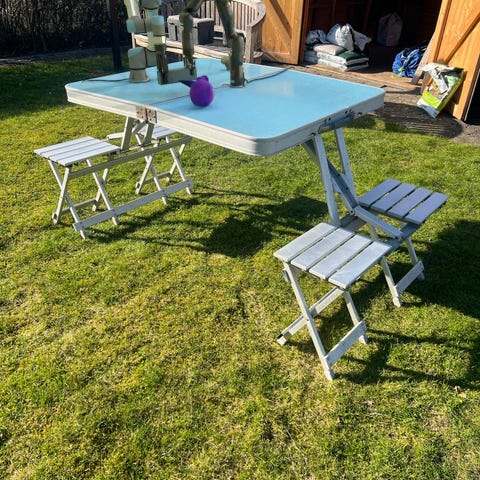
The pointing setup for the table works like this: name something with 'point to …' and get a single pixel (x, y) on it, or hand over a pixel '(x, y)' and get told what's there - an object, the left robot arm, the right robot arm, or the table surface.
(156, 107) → the table surface
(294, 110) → the table surface
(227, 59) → the teapot
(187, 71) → the bar
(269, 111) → the table surface
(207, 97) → the toy
